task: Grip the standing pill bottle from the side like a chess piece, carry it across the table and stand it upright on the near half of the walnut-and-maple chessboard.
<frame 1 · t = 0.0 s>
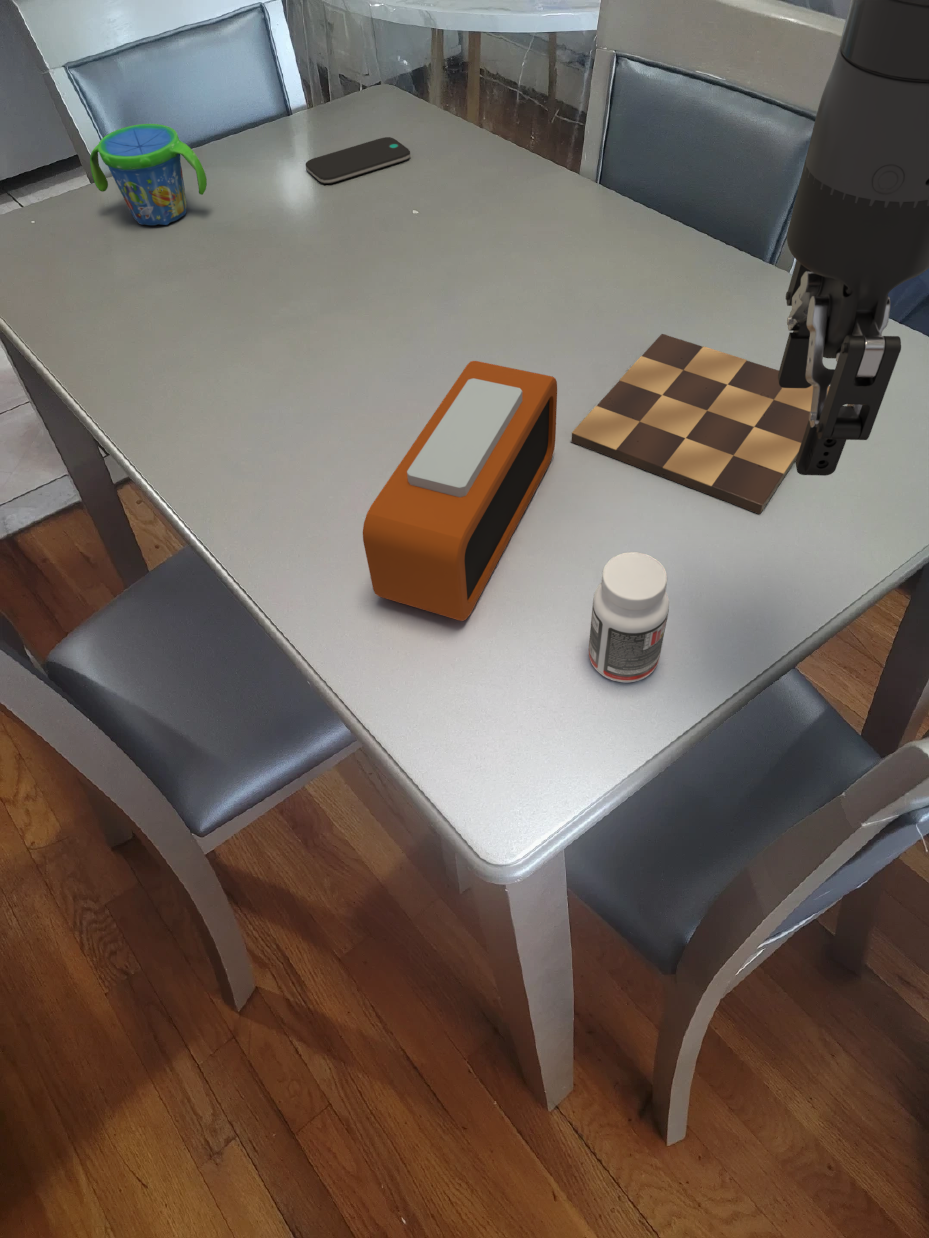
hand: (803, 425, 54), 22 cm above the table, tool pointing down, fingers open, 8 cm apart
pill bottle: (622, 657, 71), on the table
snack cup: (162, 217, 123), on the table
chessboard: (705, 420, 89), on the table
smartphone: (358, 164, 130), on the table
alarm clock: (471, 526, 81), on the table
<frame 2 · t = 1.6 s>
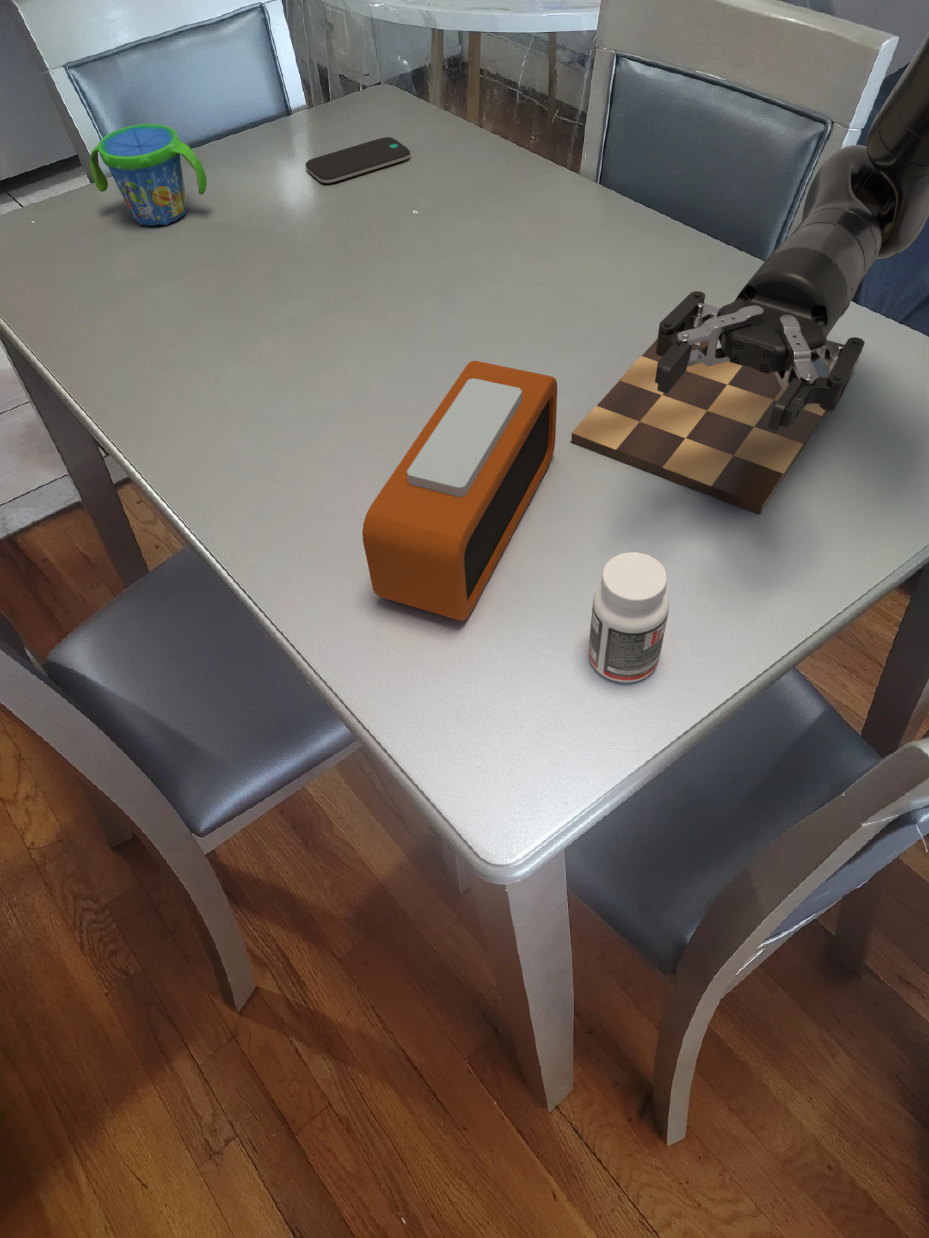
hand: (717, 401, 62), 18 cm above the table, tool horizontal, fingers open, 8 cm apart
nothing on the table moved.
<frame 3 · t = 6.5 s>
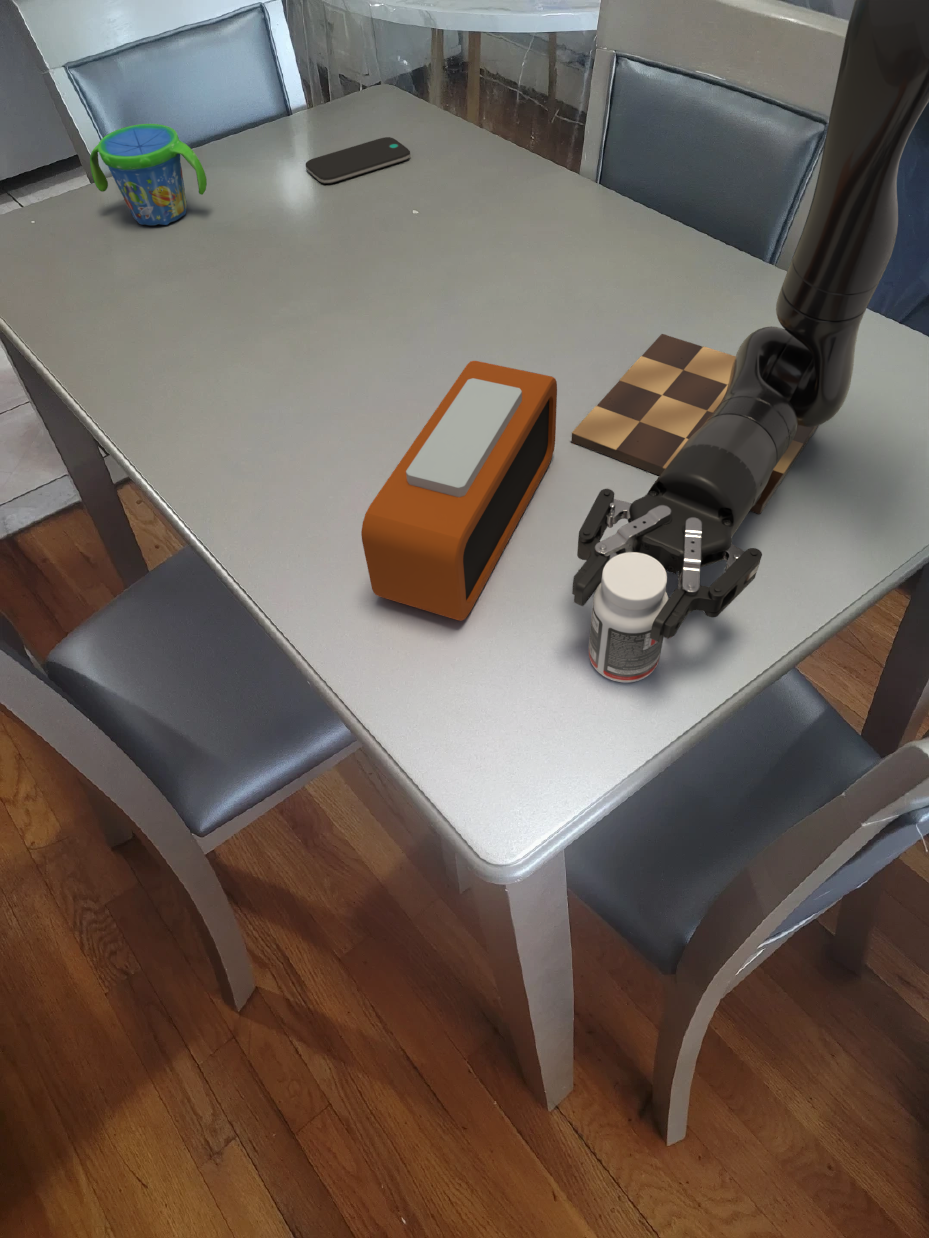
hand: (616, 614, 63), 8 cm above the table, tool horizontal, fingers closed on pill bottle, 5 cm apart
pill bottle: (622, 657, 71), on the table, touching gripper
everything else where it was.
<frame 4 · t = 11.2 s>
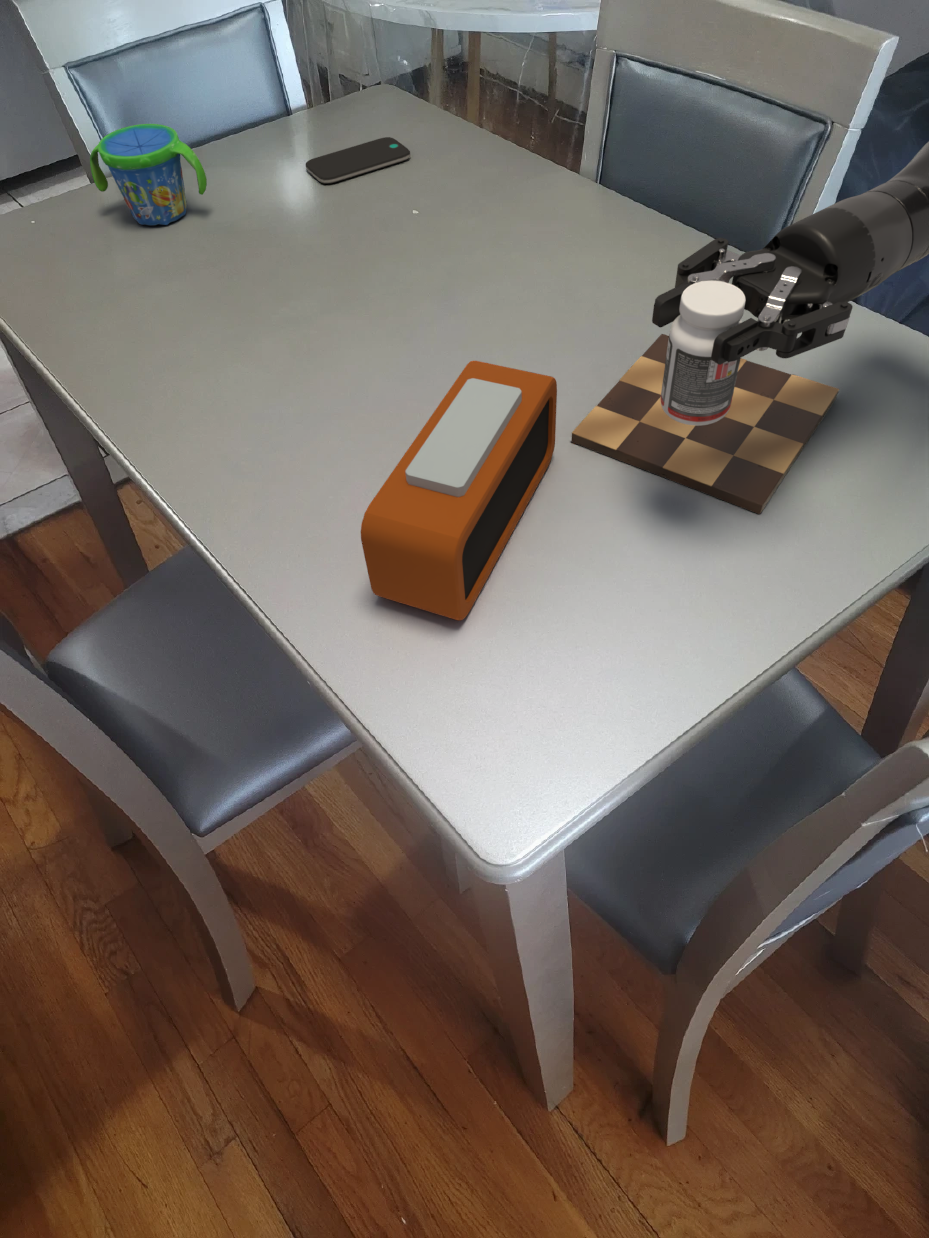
hand: (686, 332, 65), 20 cm above the table, tool horizontal, fingers closed on pill bottle, 5 cm apart
pill bottle: (693, 408, 72), point 11 cm above the table, touching gripper
everything else where it was.
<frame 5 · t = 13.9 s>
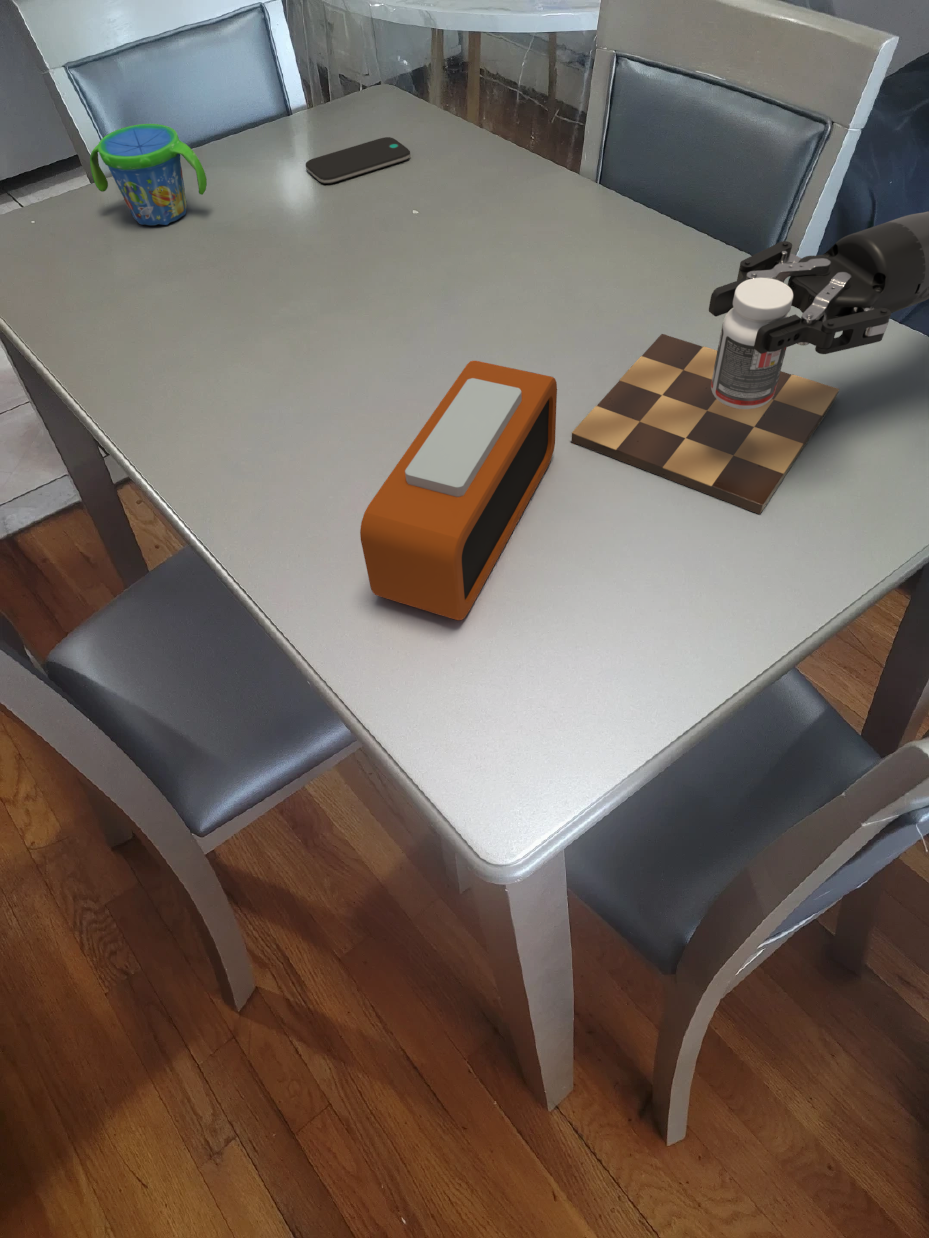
hand: (735, 322, 72), 15 cm above the table, tool horizontal, fingers closed on pill bottle, 5 cm apart
pill bottle: (741, 393, 79), point 7 cm above the table, touching gripper
everything else where it was.
when the fingers open (9 cm above the table, at t = 16.2 s): pill bottle stays where it is, resting on chessboard.
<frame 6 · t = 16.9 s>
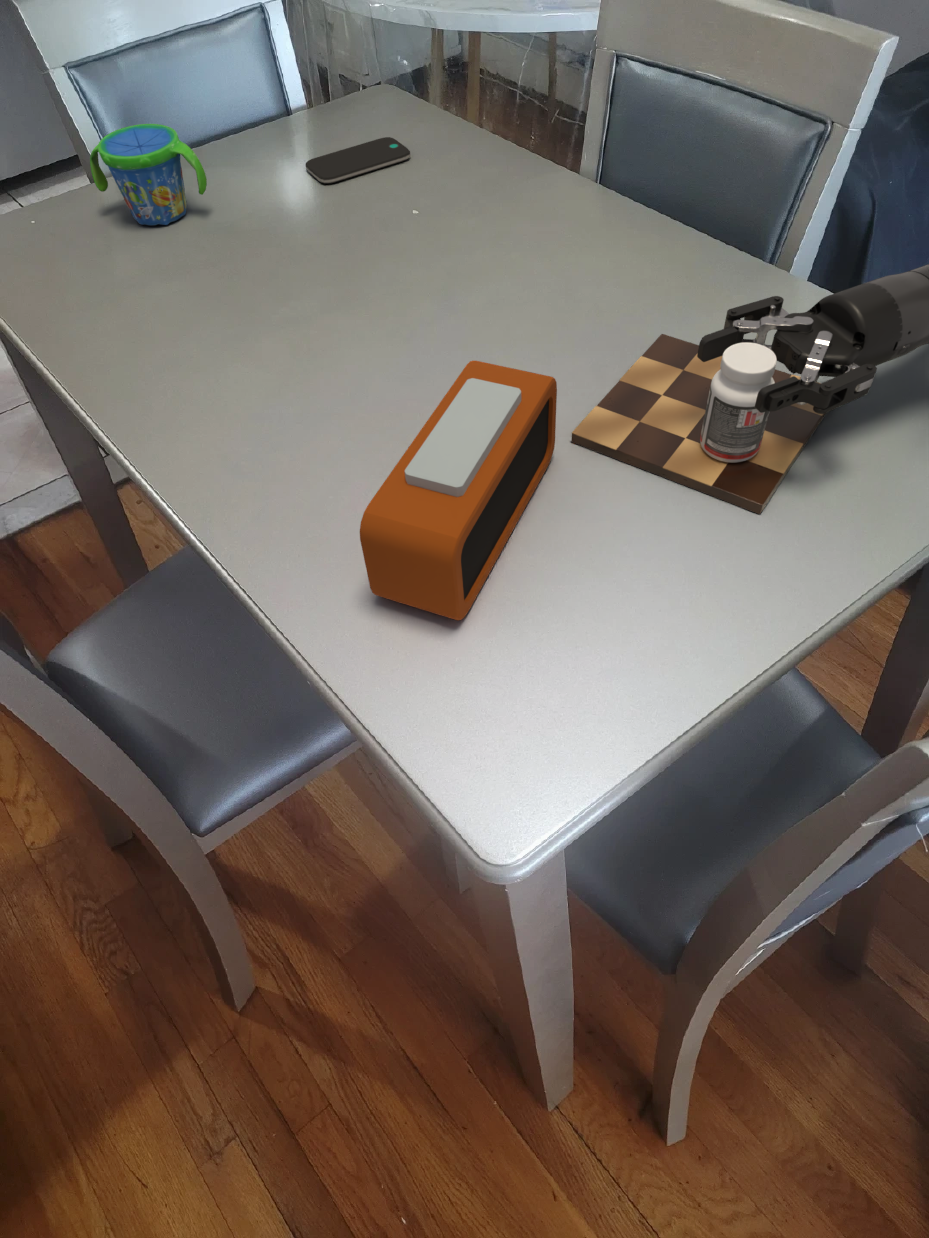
hand: (728, 375, 77), 10 cm above the table, tool horizontal, fingers open, 8 cm apart
pill bottle: (728, 447, 84), point 1 cm above the table, touching chessboard
everything else where it was.
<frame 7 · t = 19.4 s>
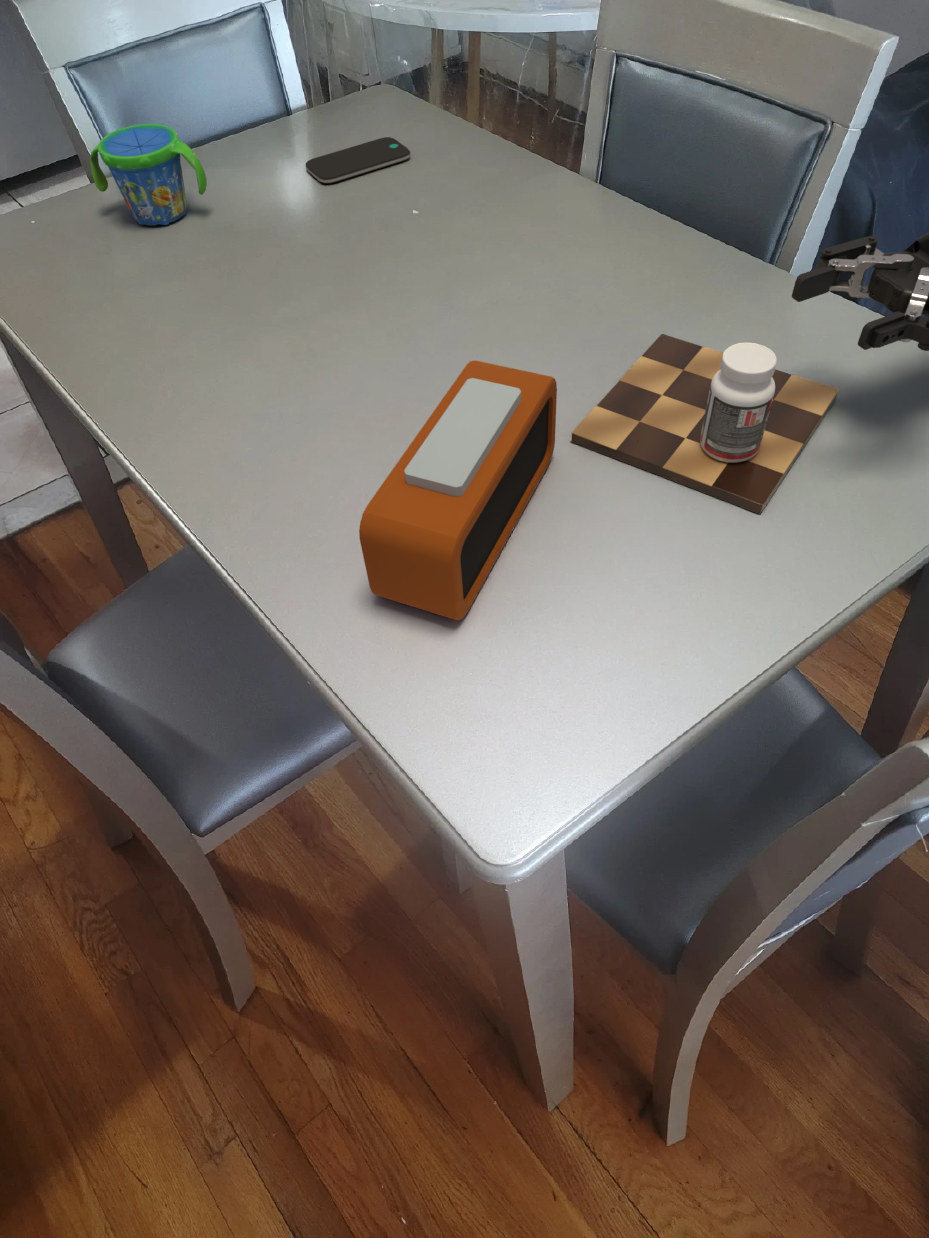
hand: (828, 313, 74), 14 cm above the table, tool horizontal, fingers open, 8 cm apart
nothing on the table moved.
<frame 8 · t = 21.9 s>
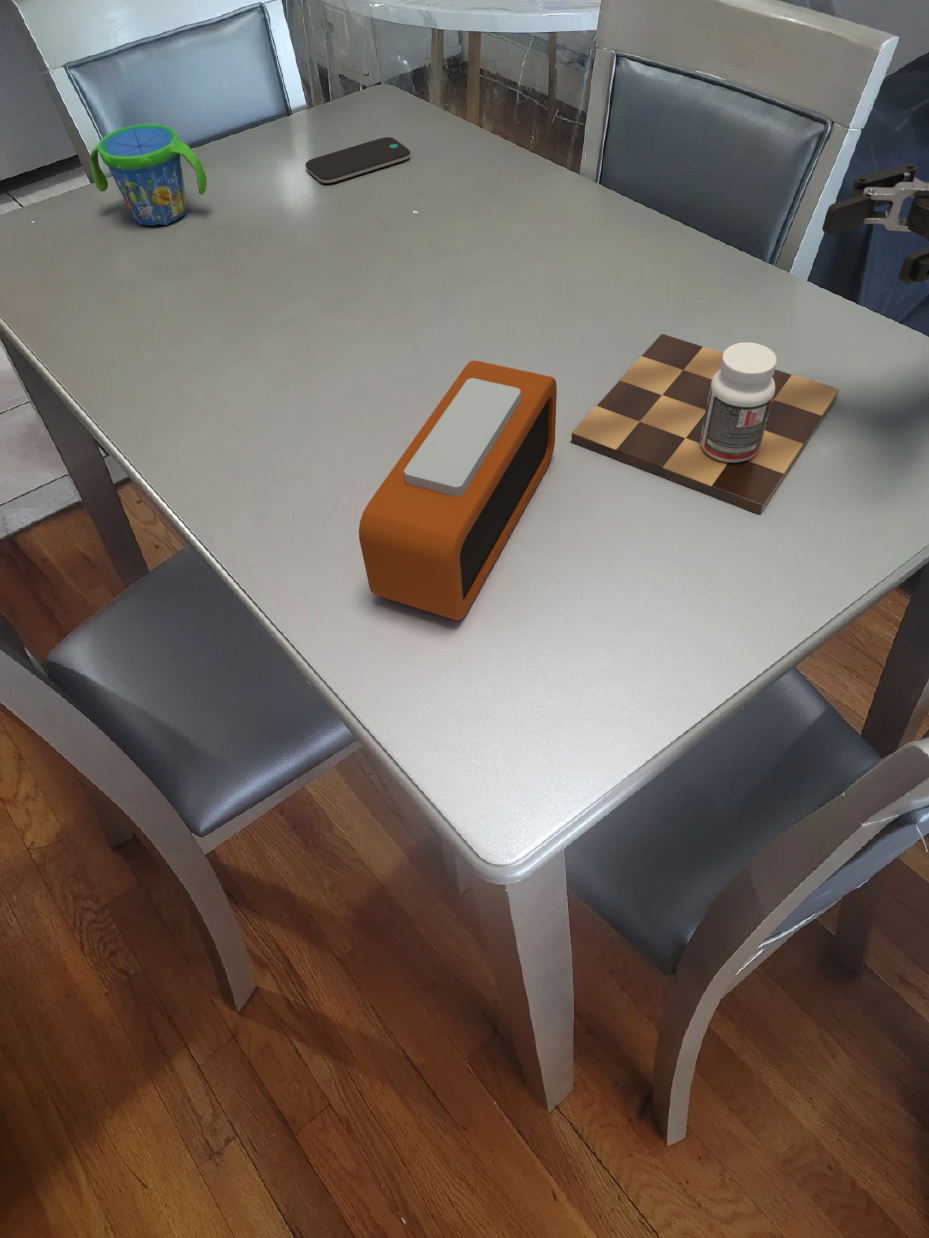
hand: (864, 245, 67), 22 cm above the table, tool horizontal, fingers open, 8 cm apart
nothing on the table moved.
at the end: pill bottle inside the target area on the chessboard (5.7 cm from its centre), point 1.0 cm above the chessboard's base; pill bottle tilted 0°; the gripper is holding nothing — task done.
